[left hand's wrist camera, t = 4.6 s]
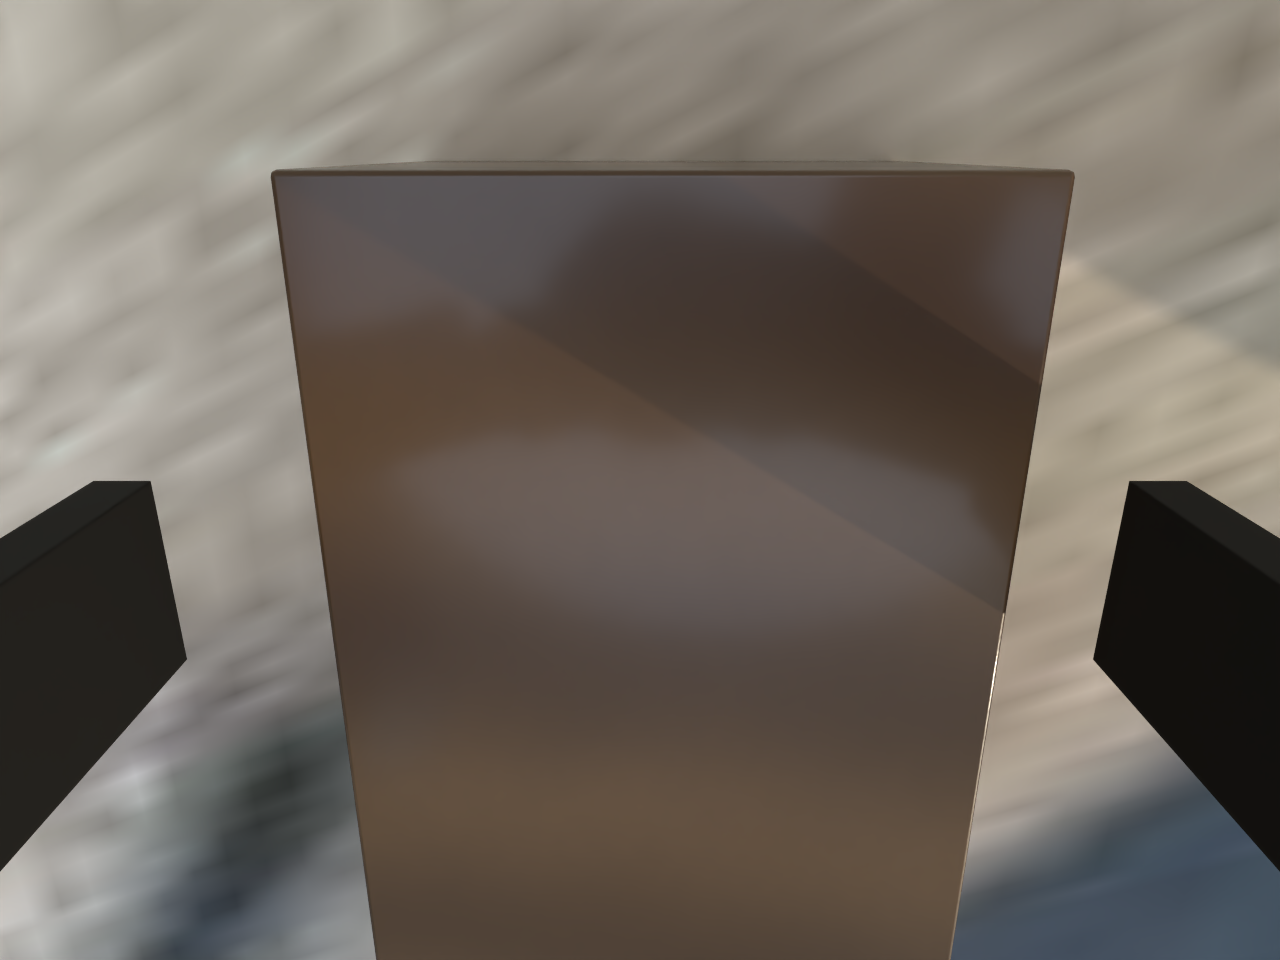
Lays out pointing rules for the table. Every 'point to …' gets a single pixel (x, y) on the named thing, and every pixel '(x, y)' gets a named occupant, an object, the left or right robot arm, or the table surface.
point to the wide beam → (668, 539)
